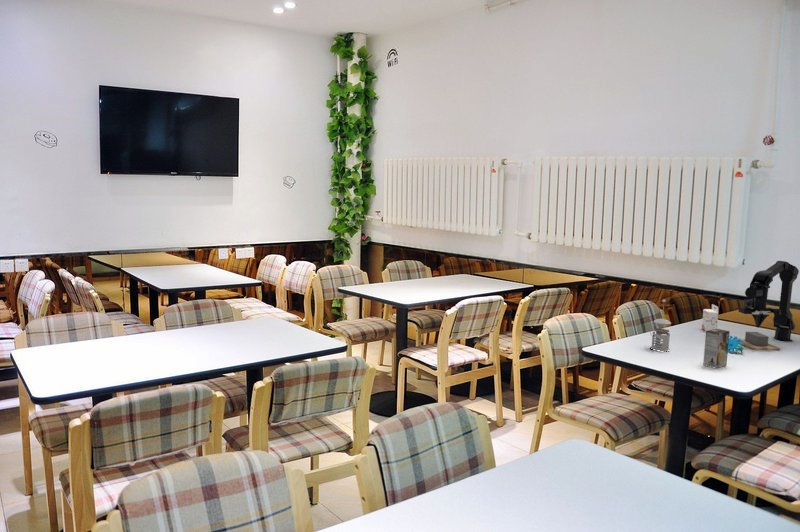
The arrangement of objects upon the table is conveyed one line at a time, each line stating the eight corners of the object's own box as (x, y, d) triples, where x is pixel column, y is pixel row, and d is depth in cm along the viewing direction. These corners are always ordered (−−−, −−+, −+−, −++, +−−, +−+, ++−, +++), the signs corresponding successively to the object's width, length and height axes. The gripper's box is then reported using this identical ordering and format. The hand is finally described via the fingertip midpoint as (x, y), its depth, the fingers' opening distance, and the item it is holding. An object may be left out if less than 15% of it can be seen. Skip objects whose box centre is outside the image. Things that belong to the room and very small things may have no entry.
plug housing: (756, 341, 339) (757, 331, 338) (767, 346, 329) (768, 336, 328) (744, 341, 339) (745, 331, 338) (756, 346, 329) (757, 336, 328)
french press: (659, 352, 314) (663, 301, 311) (642, 346, 325) (646, 297, 322) (675, 351, 318) (679, 300, 315) (657, 345, 329) (661, 296, 325)
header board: (758, 341, 343) (759, 334, 343) (779, 350, 325) (780, 343, 325) (732, 340, 342) (733, 334, 342) (752, 350, 325) (753, 343, 324)
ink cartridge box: (700, 329, 367) (703, 303, 365) (709, 329, 367) (712, 303, 365) (707, 332, 359) (710, 306, 357) (716, 333, 359) (719, 306, 357)
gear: (715, 347, 322) (726, 332, 324) (718, 354, 325) (728, 338, 328) (737, 355, 313) (748, 339, 316) (740, 362, 317) (750, 346, 319)
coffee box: (713, 362, 301) (716, 328, 299) (726, 365, 296) (730, 331, 293) (702, 365, 295) (705, 330, 293) (716, 368, 290) (719, 333, 288)
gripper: (769, 294, 339) (766, 324, 341) (734, 293, 338) (731, 323, 340) (782, 298, 328) (779, 329, 330) (746, 297, 327) (743, 328, 329)
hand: (757, 327), depth 332 cm, fingers closed
